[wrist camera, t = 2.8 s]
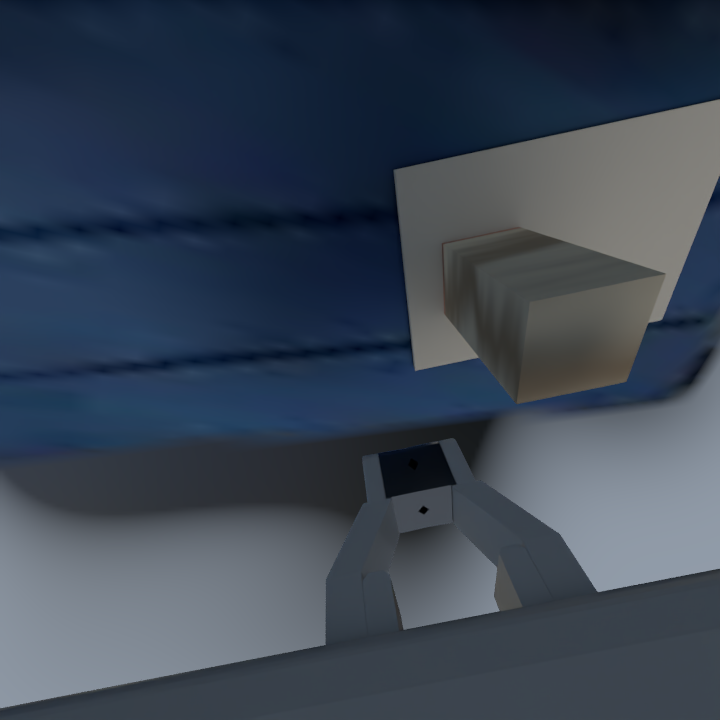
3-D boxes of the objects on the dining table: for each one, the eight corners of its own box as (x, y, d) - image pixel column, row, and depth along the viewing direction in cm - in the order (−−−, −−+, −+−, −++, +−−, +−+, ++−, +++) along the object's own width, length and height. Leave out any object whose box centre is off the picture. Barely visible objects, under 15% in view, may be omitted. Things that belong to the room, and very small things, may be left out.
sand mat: (393, 169, 18) (395, 169, 17) (741, 94, 17) (752, 92, 17) (413, 367, 25) (415, 370, 25) (656, 317, 25) (661, 319, 24)
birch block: (441, 243, 20) (529, 302, 11) (519, 226, 20) (666, 273, 11) (444, 313, 22) (516, 404, 14) (512, 299, 22) (626, 381, 14)
